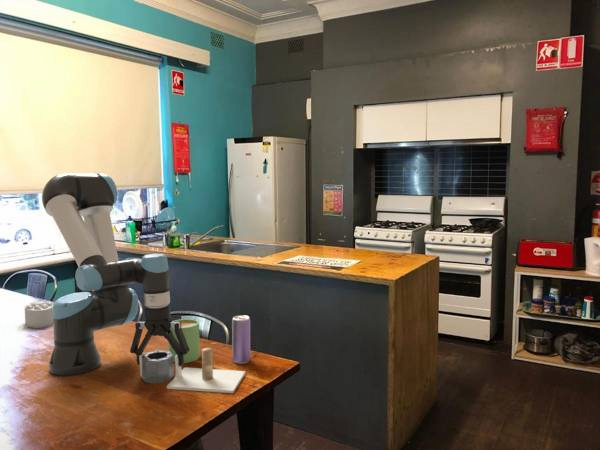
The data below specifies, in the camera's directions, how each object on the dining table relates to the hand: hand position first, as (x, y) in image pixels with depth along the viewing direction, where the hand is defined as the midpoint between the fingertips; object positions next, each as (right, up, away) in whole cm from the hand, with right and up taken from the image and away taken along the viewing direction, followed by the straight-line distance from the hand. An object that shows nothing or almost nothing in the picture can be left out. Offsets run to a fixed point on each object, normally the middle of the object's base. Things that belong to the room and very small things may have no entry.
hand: (161, 375), depth 148 cm
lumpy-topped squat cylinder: (-66, +5, +54) cm, 86 cm away
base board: (+15, -1, -2) cm, 15 cm away
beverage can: (+23, 0, +14) cm, 27 cm away
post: (+15, -1, -2) cm, 15 cm away
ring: (-1, -1, 0) cm, 1 cm away
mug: (+2, +1, +18) cm, 18 cm away
